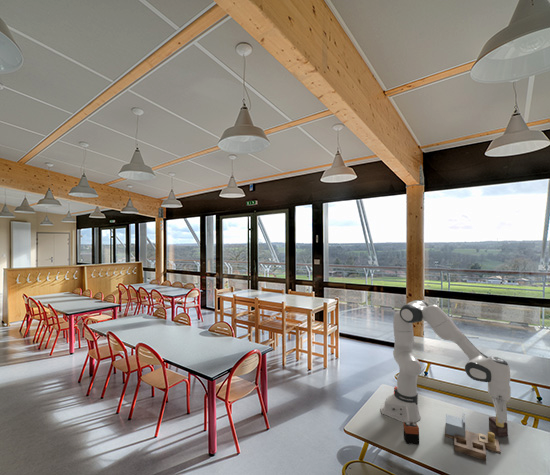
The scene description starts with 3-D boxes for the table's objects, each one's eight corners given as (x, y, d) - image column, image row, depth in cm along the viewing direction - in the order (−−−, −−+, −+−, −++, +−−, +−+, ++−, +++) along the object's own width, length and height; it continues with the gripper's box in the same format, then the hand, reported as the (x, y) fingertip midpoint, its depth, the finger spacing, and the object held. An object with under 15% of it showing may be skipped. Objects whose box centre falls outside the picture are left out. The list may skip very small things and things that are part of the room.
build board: (454, 450, 144) (454, 444, 144) (454, 439, 152) (454, 434, 152) (486, 460, 137) (486, 454, 137) (484, 449, 145) (484, 443, 145)
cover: (445, 433, 155) (445, 417, 155) (446, 424, 162) (445, 408, 162) (465, 439, 150) (465, 422, 150) (465, 429, 157) (464, 413, 157)
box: (499, 429, 159) (498, 416, 159) (508, 436, 153) (507, 423, 153) (488, 429, 159) (488, 416, 159) (497, 437, 153) (497, 423, 153)
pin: (496, 426, 138) (496, 411, 138) (495, 422, 141) (495, 408, 141) (504, 428, 136) (504, 413, 137) (503, 424, 139) (502, 410, 139)
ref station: (444, 436, 154) (444, 425, 154) (445, 425, 163) (445, 415, 163) (500, 453, 142) (500, 441, 142) (497, 441, 150) (497, 430, 150)
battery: (403, 438, 153) (403, 419, 153) (416, 439, 152) (416, 421, 152) (405, 444, 149) (405, 425, 149) (419, 445, 148) (419, 426, 148)
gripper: (510, 404, 128) (511, 434, 128) (504, 384, 145) (504, 411, 145) (493, 400, 132) (493, 429, 132) (488, 381, 149) (489, 407, 149)
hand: (499, 420), depth 139 cm, fingers closed on pin, 3 cm apart
